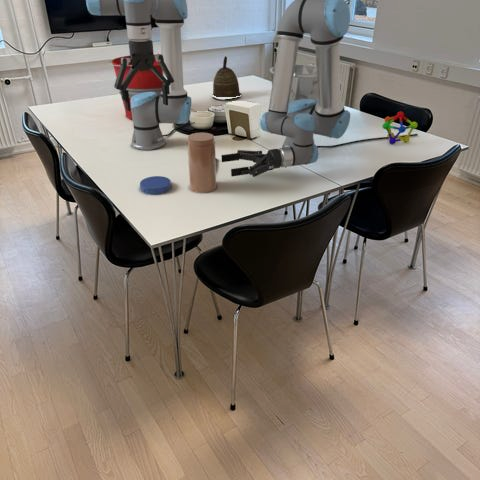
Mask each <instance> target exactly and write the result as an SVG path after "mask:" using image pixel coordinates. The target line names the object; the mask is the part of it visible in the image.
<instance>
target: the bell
mask: <svg viewBox="0 0 480 480" xmlns="http://www.w3.org/2000/svg"><path fill="white" fill-rule="evenodd" d="M227 63H228V57H227V56H224V58H223V63H222V67H221V68H219V69H218V70H217V71H216V73H215V75H214V78H213V81H212V83H213V84H212V95H214V96H216V97H236V96H240V95H241V96H242V93H241V92H240V83H239V80H238V79H239V78H238V77H237V75H236V73H235V72H234V70H232V69H231V68H230V67H227Z"/></svg>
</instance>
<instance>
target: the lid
mask: <svg viewBox="0 0 480 480" xmlns="http://www.w3.org/2000/svg"><path fill="white" fill-rule="evenodd" d="M139 188H140V191H141V192H142V193H144V194H147V195H161V194H165V193H167V192H169V191H170V190H171V189H172V184H171V179H170V178H169V177H166V176H161V175H153V176H148V177H145V178H143V179H142V180H140V181H139Z"/></svg>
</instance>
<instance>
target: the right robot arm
mask: <svg viewBox="0 0 480 480" xmlns="http://www.w3.org/2000/svg"><path fill="white" fill-rule="evenodd" d="M350 23H351V11H350V7H349V5H348V3H347V2H346V0H293V1H292V2H291V3H290V4H289V5H288V6H287V7H286V9H285V10H284V12H283V14H282V16H281V18H280V20H279V23H278V26H277V33H276V37H277V39H278V42H277V43H278V45H277V51H276V58H275V64H274V66H275V70H274V77H273V84H272V83H271V90H270V98H269V104H268V110H267V112H266V111H265V112H264V113H262V115H261V118H260V120H259V126H260V127H259V128H261V130H262V131H263V132H266V133H269V134H274V135H277V136H281V137H282V136H283V137H285V139H284V141H283V144H282V146H281V147H279V148H269V149H268V150H267V152H266V153H263V150H246V149H245V150H244V149H238V150H236V151H237V152H234V153H227V154H226V153H225V154H221V156H220V157H221V163H228V162H235V161H239V160H243V161H249V162H252V163H253V165H249V166H243V167H236V168H230V176H231V177H239V176H246V175H249V176H252V177H253V178H255V177H258V176H260V175H262V174H264V173H267V172H269V171H270V172H271V171H273V170H277V169H280V168H286V169H287V168H289V167H295V166H302V165H303V166H304V165H306V166H307V165H309V164H314V163H316V162H317V161H318V160H319V156H320V155H319V149H331V148H337V147H342V146H347V145H351V144H357V143H362V142H363V143H364V142H369V141H370V142H371V141H378V140H379V141H380V140H390V139H389V138H388V136H381V137H372V138H364V139H357V140H352V141H348V142H342V143H338V144H333V145H316V143H315V138H314V135H318V136H322V137H327V138H329V139H340V138H342V137H343V136H344V134H345V133H346V132H347V129H348V127H349V124H350V121H351V112H350V111H349V110H348V109H345V103H344V101H343V100H341V61H340V60H341V59H340V58H341V57H340V43H341V42H342V41H343V39H344V36H345V35H346V34H347V33H348V31H349V28H350ZM304 34H309V36H310V43H311V44H312V45H313V46H314V47H315V64H316V65H315V66H316V67H317V83H318V100H319V102H318V103H316V100H313V99H302V100H296V101H293V102H291V103H290V104H289V99H290V94H291V88H292V82H293V76H294V70H295V64H297V57H298V52H299V46H300V43H301V42H302V41H303V40H304ZM288 105H289V108H288ZM287 111H288V116H287ZM407 135H408V134H404V135H399V136H400V137H404V136H407ZM418 135H419V134H418V133H411V134H410V136H409V137H417V136H418ZM393 138H394V137H393Z"/></svg>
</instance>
